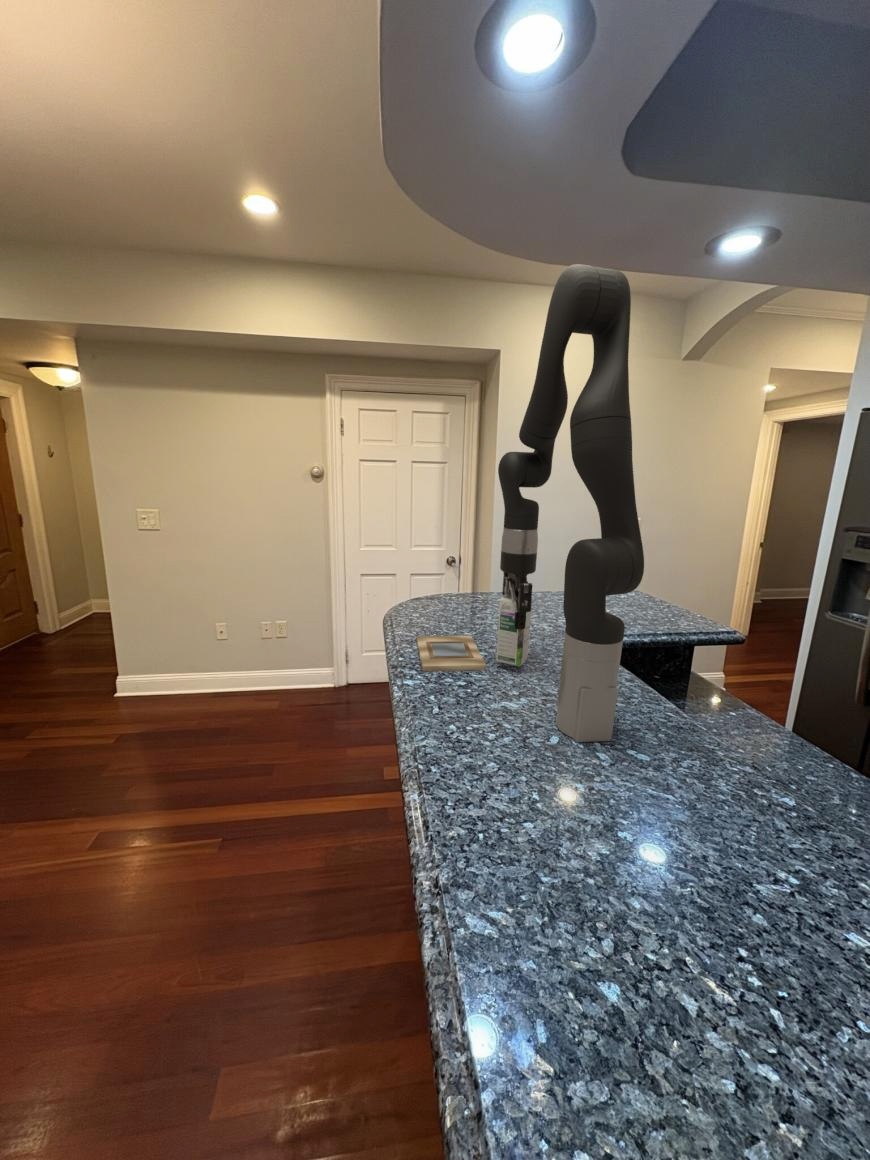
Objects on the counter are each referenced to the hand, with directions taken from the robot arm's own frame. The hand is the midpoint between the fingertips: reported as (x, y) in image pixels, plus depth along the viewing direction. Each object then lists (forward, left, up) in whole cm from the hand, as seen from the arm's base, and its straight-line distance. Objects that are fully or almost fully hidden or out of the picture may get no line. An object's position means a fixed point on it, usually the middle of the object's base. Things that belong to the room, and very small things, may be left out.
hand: (514, 622), depth 105 cm
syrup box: (0, 0, -9) cm, 9 cm away
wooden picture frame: (+7, +13, -10) cm, 18 cm away
